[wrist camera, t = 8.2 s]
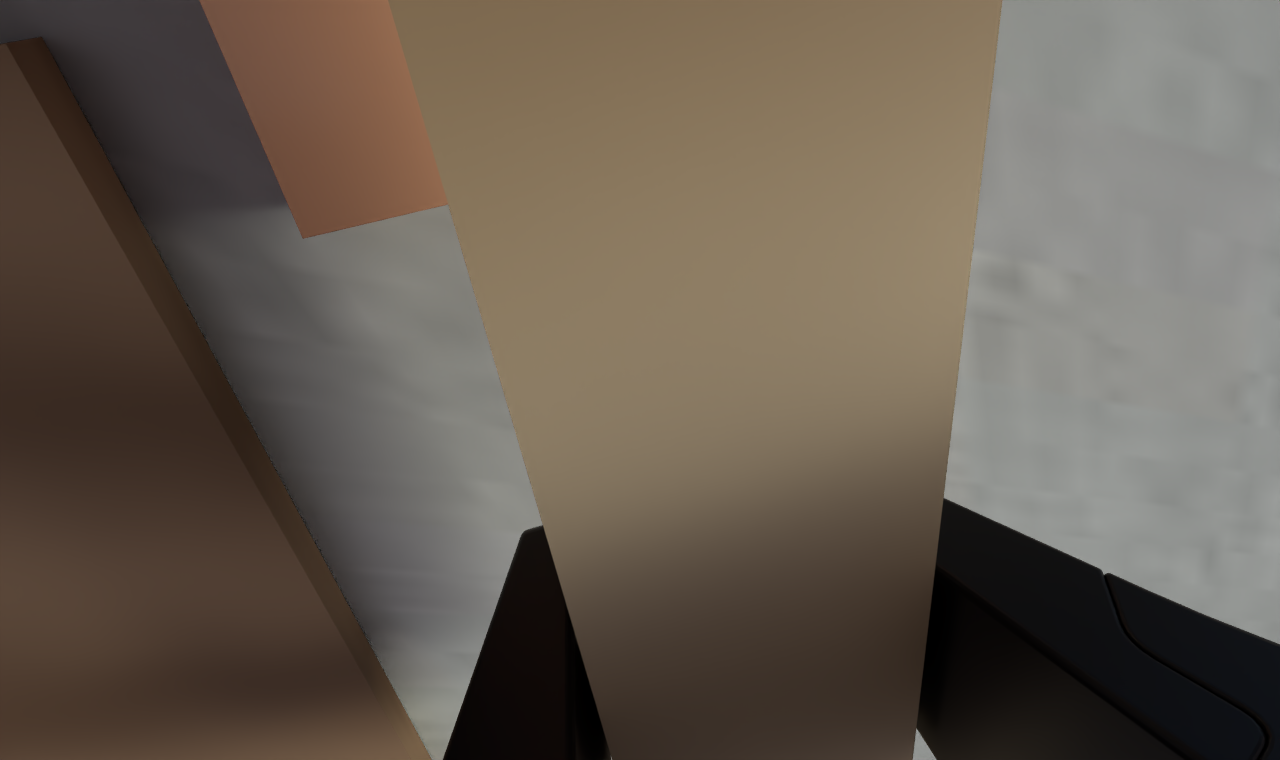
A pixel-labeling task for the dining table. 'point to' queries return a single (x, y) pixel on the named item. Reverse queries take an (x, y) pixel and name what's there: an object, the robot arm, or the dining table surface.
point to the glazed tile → (331, 107)
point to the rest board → (145, 498)
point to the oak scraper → (724, 336)
